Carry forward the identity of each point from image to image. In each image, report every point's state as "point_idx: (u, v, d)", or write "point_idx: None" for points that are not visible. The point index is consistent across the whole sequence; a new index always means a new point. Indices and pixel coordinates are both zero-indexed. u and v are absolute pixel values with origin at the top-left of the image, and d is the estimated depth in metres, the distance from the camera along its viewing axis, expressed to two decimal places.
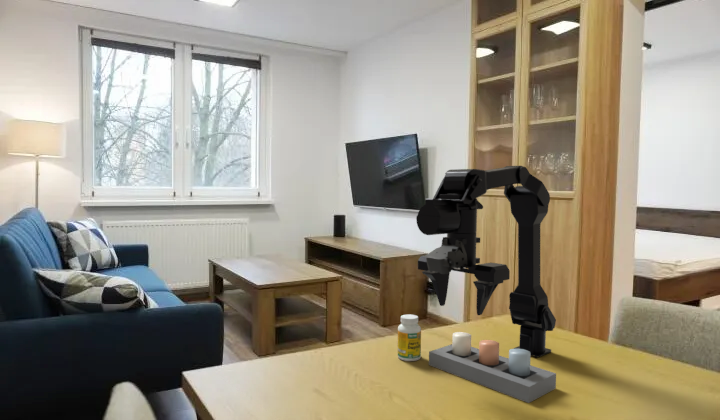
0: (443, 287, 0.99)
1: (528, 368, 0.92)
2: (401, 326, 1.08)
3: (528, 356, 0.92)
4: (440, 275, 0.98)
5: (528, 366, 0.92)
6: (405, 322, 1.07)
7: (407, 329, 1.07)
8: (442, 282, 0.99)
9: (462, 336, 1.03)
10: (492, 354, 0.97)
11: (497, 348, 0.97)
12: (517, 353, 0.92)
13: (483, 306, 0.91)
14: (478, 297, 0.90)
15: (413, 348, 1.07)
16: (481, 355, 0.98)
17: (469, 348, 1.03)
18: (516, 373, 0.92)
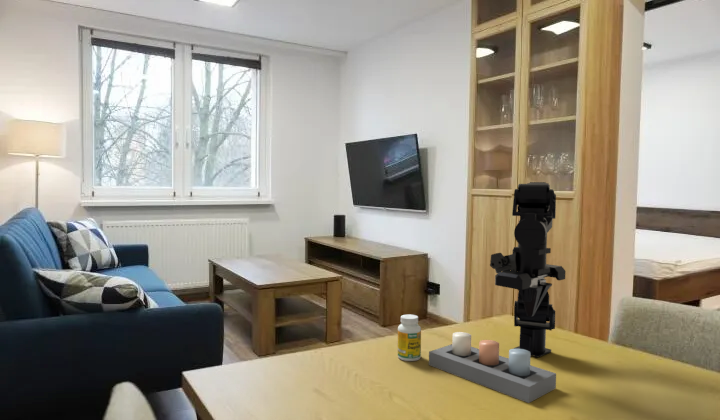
0: None
1: (528, 368, 0.92)
2: (401, 326, 1.08)
3: (528, 356, 0.92)
4: None
5: (528, 366, 0.92)
6: (405, 322, 1.07)
7: (407, 329, 1.07)
8: None
9: (462, 336, 1.03)
10: (492, 354, 0.97)
11: (497, 348, 0.97)
12: (517, 353, 0.92)
13: (529, 308, 1.00)
14: None
15: (413, 348, 1.07)
16: (481, 355, 0.98)
17: (469, 348, 1.03)
18: (516, 373, 0.92)
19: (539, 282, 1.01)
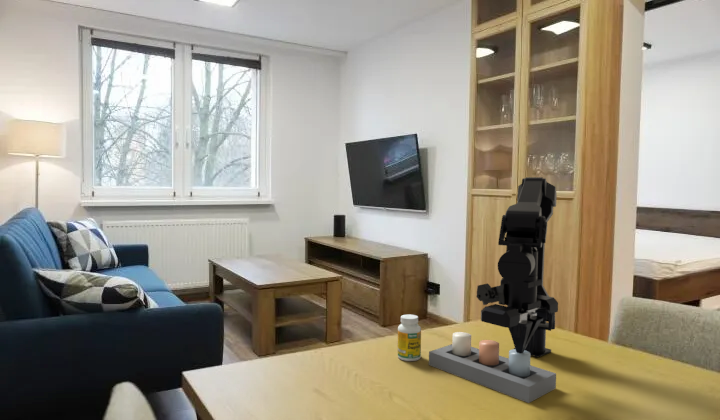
0: None
1: (528, 369, 0.92)
2: (401, 326, 1.08)
3: (528, 357, 0.92)
4: None
5: (528, 367, 0.92)
6: (405, 322, 1.07)
7: (407, 329, 1.07)
8: None
9: (462, 336, 1.03)
10: (492, 354, 0.97)
11: (497, 348, 0.97)
12: (517, 354, 0.92)
13: (518, 345, 0.93)
14: None
15: (413, 348, 1.07)
16: (481, 355, 0.98)
17: (469, 348, 1.03)
18: (516, 374, 0.92)
19: (529, 316, 0.93)
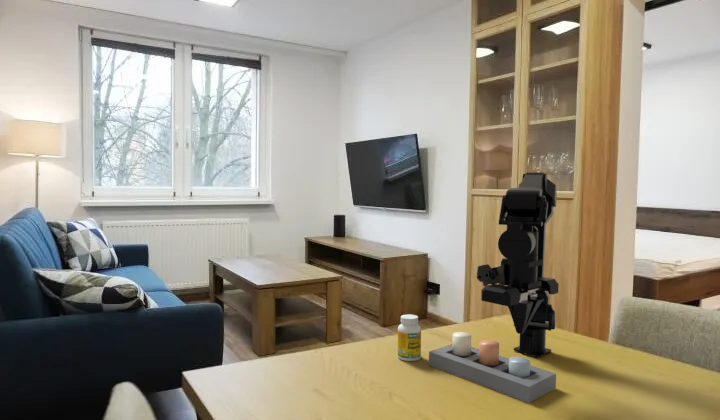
0: None
1: None
2: (401, 326, 1.08)
3: (528, 365, 0.92)
4: None
5: (528, 375, 0.92)
6: (405, 322, 1.07)
7: (407, 329, 1.07)
8: None
9: (462, 336, 1.03)
10: (492, 354, 0.97)
11: (497, 348, 0.97)
12: (517, 362, 0.92)
13: (519, 325, 0.92)
14: None
15: (413, 348, 1.07)
16: (481, 355, 0.98)
17: (469, 348, 1.03)
18: None
19: (529, 297, 0.93)
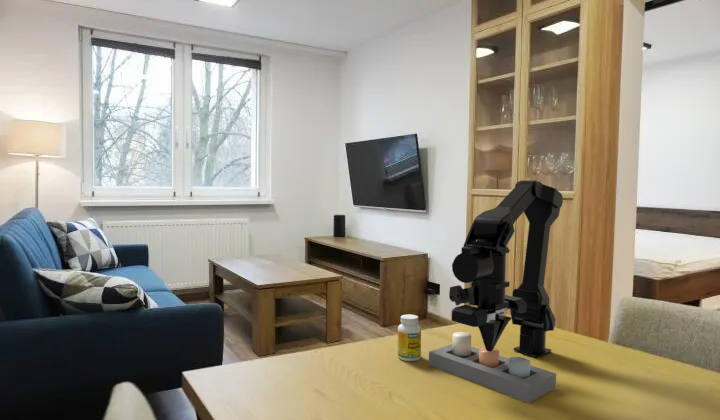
0: None
1: None
2: (401, 326, 1.08)
3: (528, 365, 0.92)
4: None
5: (528, 375, 0.92)
6: (405, 322, 1.07)
7: (407, 329, 1.07)
8: None
9: (462, 336, 1.03)
10: (492, 362, 0.97)
11: (497, 356, 0.97)
12: (517, 362, 0.92)
13: (488, 343, 0.98)
14: None
15: (413, 348, 1.07)
16: (481, 362, 0.98)
17: (469, 348, 1.03)
18: None
19: (498, 316, 0.98)
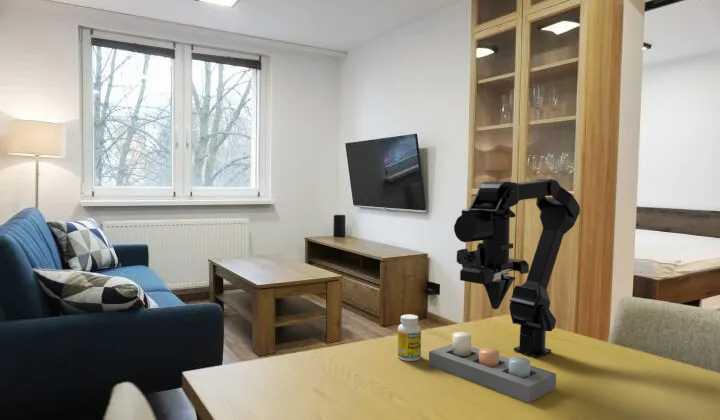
0: None
1: None
2: (401, 326, 1.08)
3: (528, 365, 0.92)
4: None
5: (528, 375, 0.92)
6: (405, 322, 1.07)
7: (407, 329, 1.07)
8: None
9: (462, 336, 1.03)
10: (492, 362, 0.97)
11: (497, 356, 0.97)
12: (517, 362, 0.92)
13: (494, 301, 1.04)
14: None
15: (413, 348, 1.07)
16: (481, 363, 0.98)
17: (469, 348, 1.03)
18: None
19: (503, 276, 1.05)
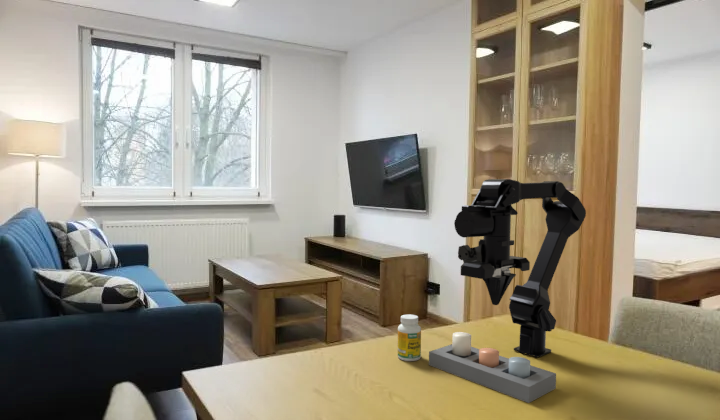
0: None
1: None
2: (401, 326, 1.08)
3: (528, 365, 0.92)
4: None
5: (528, 375, 0.92)
6: (405, 322, 1.07)
7: (407, 329, 1.07)
8: None
9: (462, 336, 1.03)
10: (492, 362, 0.97)
11: (497, 356, 0.97)
12: (517, 362, 0.92)
13: (494, 297, 1.06)
14: None
15: (413, 348, 1.07)
16: (481, 363, 0.98)
17: (469, 348, 1.03)
18: None
19: (503, 273, 1.06)
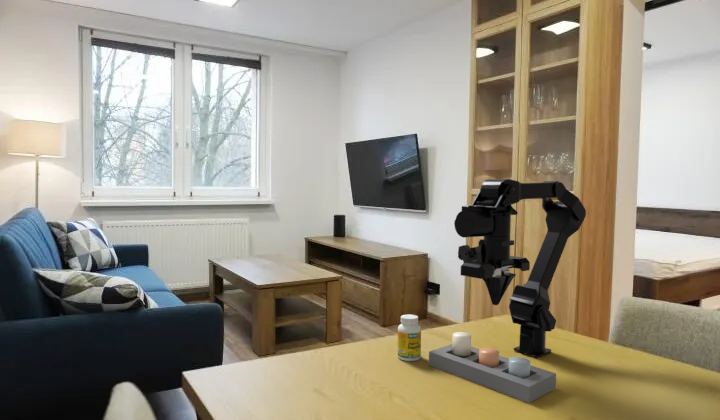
0: None
1: None
2: (401, 326, 1.08)
3: (528, 365, 0.92)
4: None
5: (528, 375, 0.92)
6: (405, 322, 1.07)
7: (407, 329, 1.07)
8: None
9: (462, 336, 1.03)
10: (492, 362, 0.97)
11: (497, 356, 0.97)
12: (517, 362, 0.92)
13: (494, 297, 1.06)
14: None
15: (413, 348, 1.07)
16: (481, 363, 0.98)
17: (469, 348, 1.03)
18: None
19: (503, 273, 1.06)
